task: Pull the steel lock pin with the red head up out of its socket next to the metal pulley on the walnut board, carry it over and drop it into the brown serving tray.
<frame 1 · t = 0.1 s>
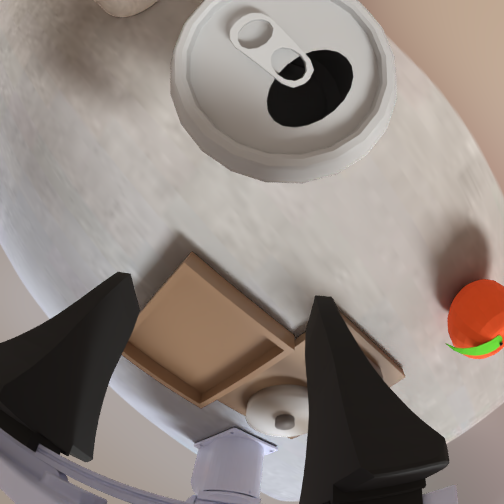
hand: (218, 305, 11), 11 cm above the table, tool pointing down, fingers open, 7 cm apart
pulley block: (310, 386, 27), on the table
tray: (198, 338, 25), on the table
clementine: (459, 299, 22), on the table
can: (282, 103, 17), on the table
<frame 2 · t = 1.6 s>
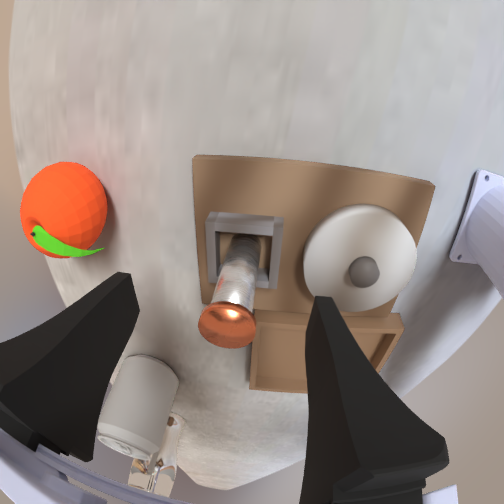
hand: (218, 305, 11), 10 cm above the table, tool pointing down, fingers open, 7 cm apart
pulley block: (309, 243, 21), on the table
tray: (319, 349, 27), on the table
clementine: (94, 192, 20), on the table
can: (153, 367, 33), on the table
lock pin: (245, 245, 20), point 1 cm above the table, touching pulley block
beer glass: (169, 416, 42), on the table
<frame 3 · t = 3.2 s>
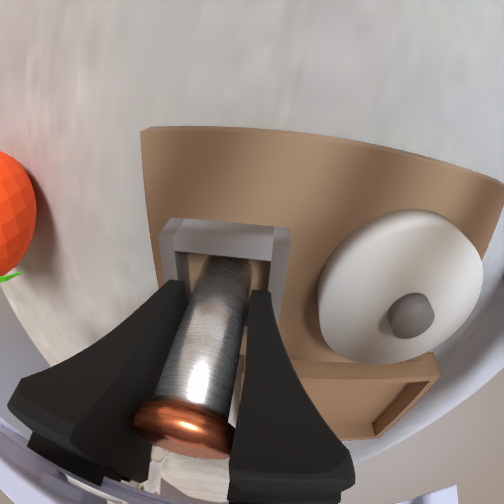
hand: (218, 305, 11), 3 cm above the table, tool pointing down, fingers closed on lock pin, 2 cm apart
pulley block: (327, 267, 13), on the table
tray: (328, 395, 20), on the table
clementine: (28, 190, 13), on the table
can: (125, 399, 25), on the table
lock pin: (228, 270, 13), point 1 cm above the table, touching gripper, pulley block
beer glass: (150, 443, 34), on the table
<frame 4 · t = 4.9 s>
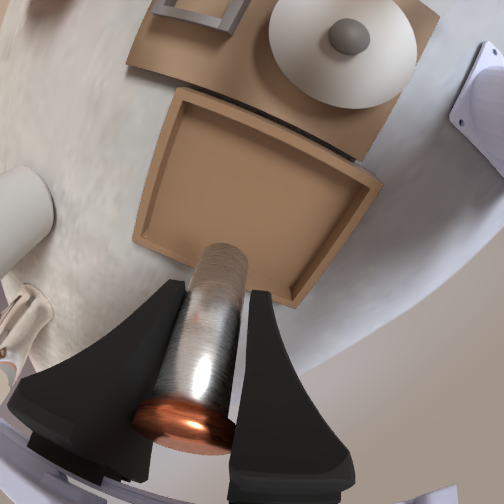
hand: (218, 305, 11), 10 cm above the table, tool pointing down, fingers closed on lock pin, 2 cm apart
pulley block: (284, 19, 12), on the table
tray: (248, 200, 19), on the table
can: (34, 198, 21), on the table
lock pin: (223, 264, 13), point 8 cm above the table, touching gripper
beer glass: (37, 300, 29), on the table
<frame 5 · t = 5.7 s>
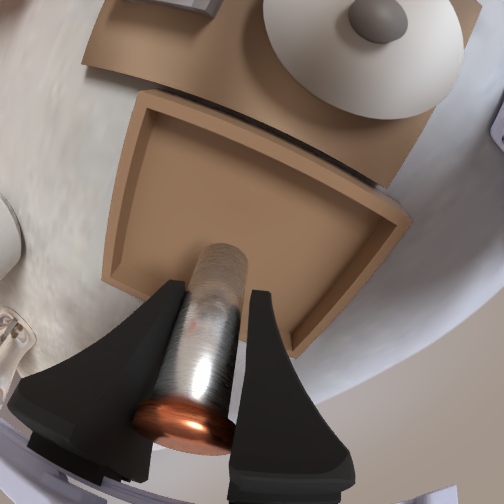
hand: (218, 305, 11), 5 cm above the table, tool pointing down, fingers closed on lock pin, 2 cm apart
tray: (239, 234, 15), on the table
can: (2, 221, 17), on the table
lock pin: (223, 264, 13), point 3 cm above the table, touching gripper
beer glass: (19, 324, 26), on the table
when the fingers open (4 cm above the table, at t = 6.4 s): lock pin stays where it is, resting on tray.
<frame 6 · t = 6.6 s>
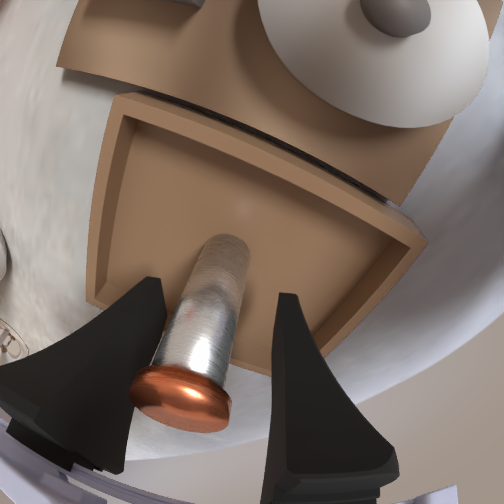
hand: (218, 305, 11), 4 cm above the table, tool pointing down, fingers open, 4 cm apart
tray: (232, 254, 14), on the table
lock pin: (226, 254, 13), point 1 cm above the table, touching tray
beer glass: (11, 335, 24), on the table
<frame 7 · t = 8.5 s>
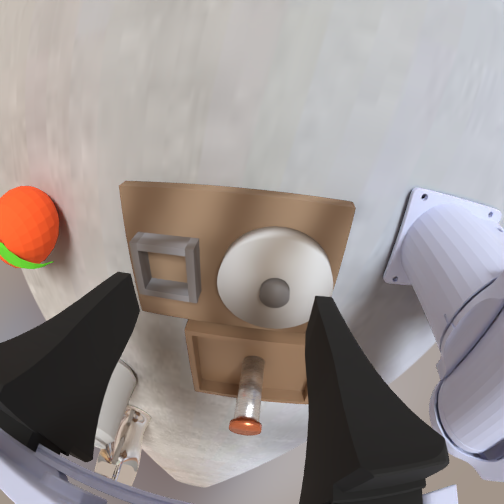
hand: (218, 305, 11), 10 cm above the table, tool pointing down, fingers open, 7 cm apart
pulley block: (230, 261, 22), on the table
tray: (257, 359, 28), on the table
clementine: (52, 210, 21), on the table
can: (114, 365, 34), on the table
lock pin: (253, 361, 28), point 1 cm above the table, touching tray
beer glass: (135, 411, 43), on the table
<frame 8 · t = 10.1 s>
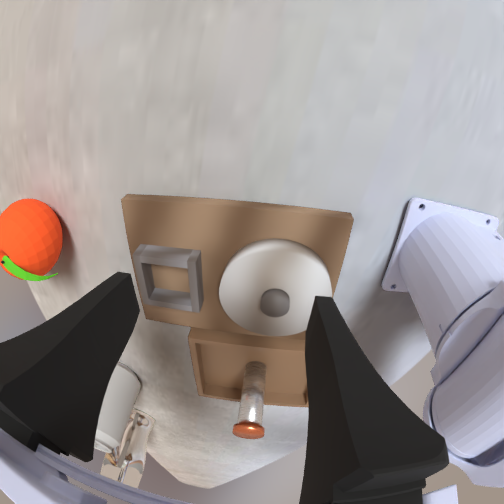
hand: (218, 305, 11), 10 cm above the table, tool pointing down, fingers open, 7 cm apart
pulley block: (231, 272, 22), on the table
tray: (259, 364, 29), on the table
clementine: (55, 221, 22), on the table
can: (118, 370, 35), on the table
lock pin: (256, 367, 28), point 1 cm above the table, touching tray
beer glass: (140, 415, 43), on the table
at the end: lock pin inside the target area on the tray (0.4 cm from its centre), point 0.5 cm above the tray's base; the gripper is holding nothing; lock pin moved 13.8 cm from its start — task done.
